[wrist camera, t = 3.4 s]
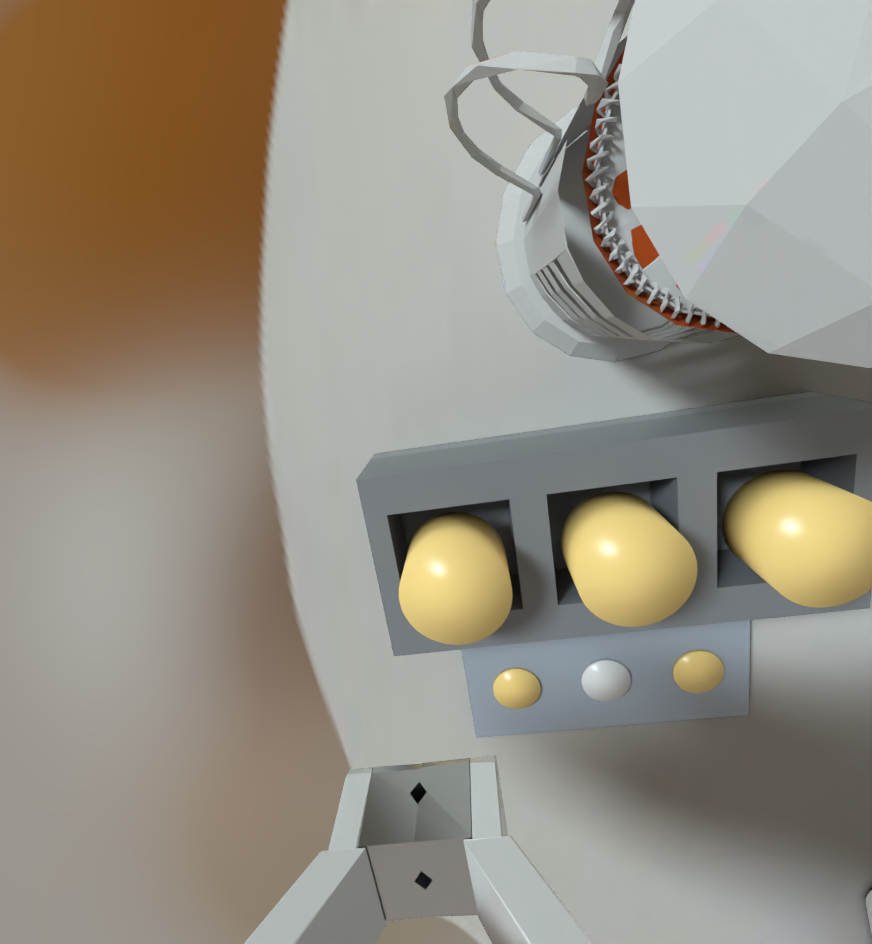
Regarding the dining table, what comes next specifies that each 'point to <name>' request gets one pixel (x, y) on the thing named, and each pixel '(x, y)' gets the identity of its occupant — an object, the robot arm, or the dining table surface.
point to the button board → (548, 578)
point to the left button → (456, 579)
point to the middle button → (627, 559)
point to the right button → (802, 537)
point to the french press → (696, 182)
